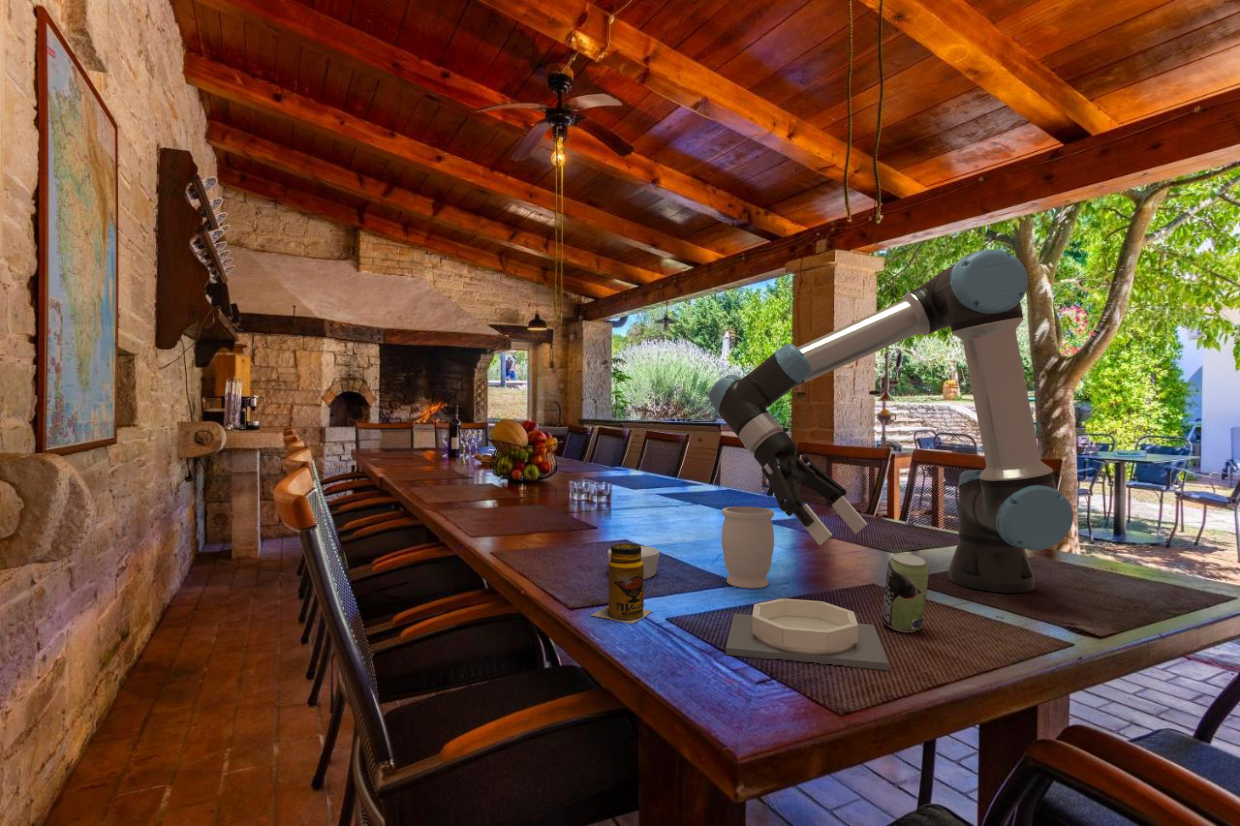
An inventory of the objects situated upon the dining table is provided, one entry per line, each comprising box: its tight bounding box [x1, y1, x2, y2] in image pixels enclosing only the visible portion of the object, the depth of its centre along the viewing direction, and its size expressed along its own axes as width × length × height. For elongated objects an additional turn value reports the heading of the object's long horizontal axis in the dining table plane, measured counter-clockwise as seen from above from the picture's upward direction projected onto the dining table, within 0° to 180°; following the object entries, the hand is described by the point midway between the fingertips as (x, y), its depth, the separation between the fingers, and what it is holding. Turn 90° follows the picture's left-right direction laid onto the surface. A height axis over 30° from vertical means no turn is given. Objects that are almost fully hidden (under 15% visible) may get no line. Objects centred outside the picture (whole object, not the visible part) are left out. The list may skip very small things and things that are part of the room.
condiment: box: [590, 542, 653, 624], centre depth 111 cm, size 7×8×12 cm
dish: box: [751, 598, 859, 655], centre depth 98 cm, size 15×15×3 cm
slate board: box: [725, 612, 890, 672], centre depth 98 cm, size 22×16×1 cm
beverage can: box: [881, 552, 930, 633], centre depth 103 cm, size 6×7×12 cm
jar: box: [721, 506, 775, 590], centre depth 130 cm, size 11×10×15 cm
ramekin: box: [607, 545, 660, 580], centre depth 137 cm, size 11×11×5 cm
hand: (844, 534), depth 110 cm, fingers open, 13 cm apart
